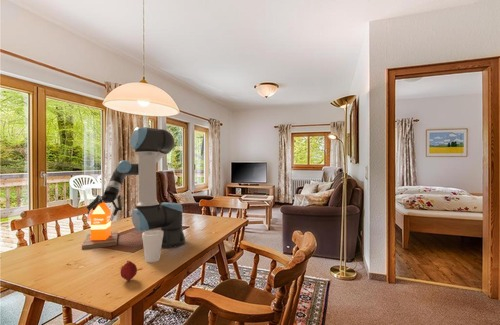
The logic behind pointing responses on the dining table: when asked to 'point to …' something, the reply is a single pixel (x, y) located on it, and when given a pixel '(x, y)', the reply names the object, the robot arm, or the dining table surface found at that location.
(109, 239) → the walnut board
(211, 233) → the dining table surface
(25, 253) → the dining table surface
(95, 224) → the orange juice
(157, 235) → the foam cup
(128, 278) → the onion
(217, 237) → the dining table surface
